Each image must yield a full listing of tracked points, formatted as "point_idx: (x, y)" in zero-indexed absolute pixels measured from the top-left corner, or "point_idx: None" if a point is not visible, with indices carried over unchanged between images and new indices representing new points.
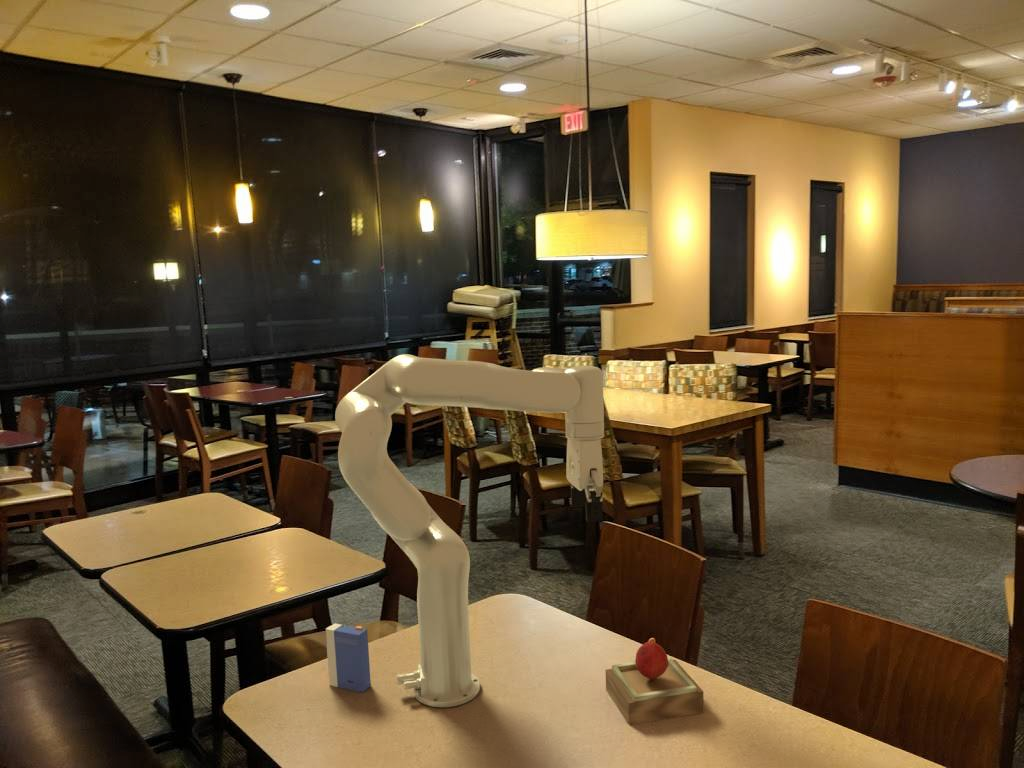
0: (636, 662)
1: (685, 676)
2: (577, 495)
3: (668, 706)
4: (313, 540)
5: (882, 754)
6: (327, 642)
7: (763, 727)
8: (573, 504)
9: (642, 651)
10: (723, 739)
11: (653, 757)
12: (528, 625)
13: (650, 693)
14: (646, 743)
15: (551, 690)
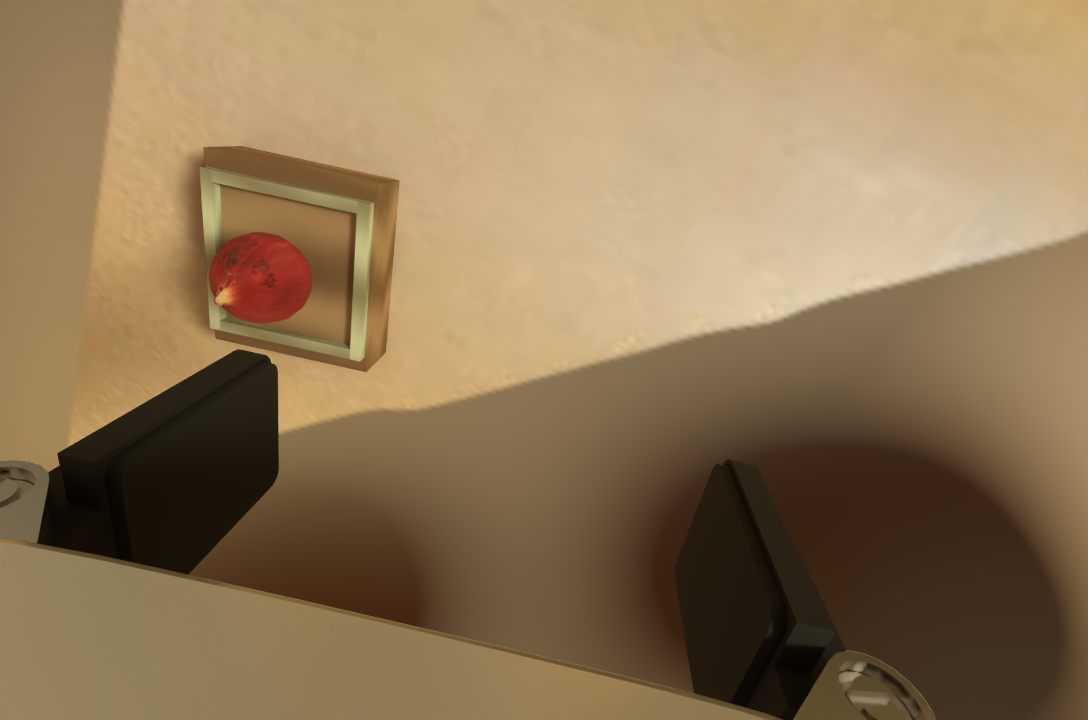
0: (261, 235)
1: (262, 336)
2: (725, 594)
3: None
4: None
5: None
6: None
7: None
8: (721, 483)
9: (230, 254)
10: (153, 296)
11: (115, 126)
12: (854, 160)
13: (207, 215)
14: (166, 142)
15: (450, 33)
